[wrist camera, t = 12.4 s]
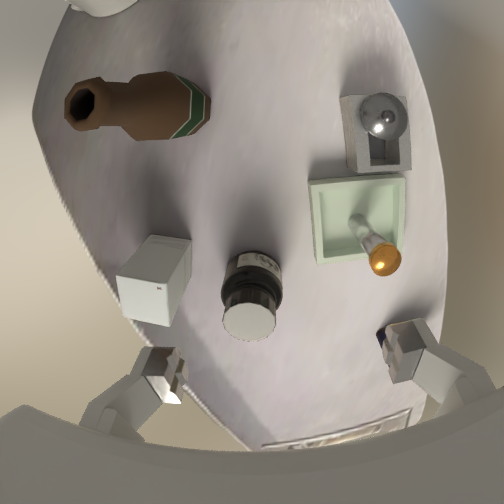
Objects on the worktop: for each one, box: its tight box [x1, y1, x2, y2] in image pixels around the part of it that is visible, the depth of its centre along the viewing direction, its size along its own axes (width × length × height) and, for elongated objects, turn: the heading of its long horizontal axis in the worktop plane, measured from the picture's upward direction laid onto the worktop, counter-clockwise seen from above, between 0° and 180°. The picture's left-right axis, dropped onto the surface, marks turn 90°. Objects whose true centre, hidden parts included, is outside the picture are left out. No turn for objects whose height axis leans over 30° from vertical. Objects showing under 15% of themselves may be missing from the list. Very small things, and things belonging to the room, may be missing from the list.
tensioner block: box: [339, 93, 412, 173], centre depth 30 cm, size 10×8×7 cm
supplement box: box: [116, 235, 192, 327], centre depth 38 cm, size 7×7×13 cm
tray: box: [308, 173, 405, 265], centre depth 38 cm, size 12×14×3 cm
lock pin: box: [348, 213, 401, 276], centre depth 34 cm, size 4×4×12 cm
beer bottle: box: [64, 71, 211, 141], centre depth 23 cm, size 8×8×24 cm
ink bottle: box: [221, 251, 283, 342], centre depth 39 cm, size 10×9×12 cm
